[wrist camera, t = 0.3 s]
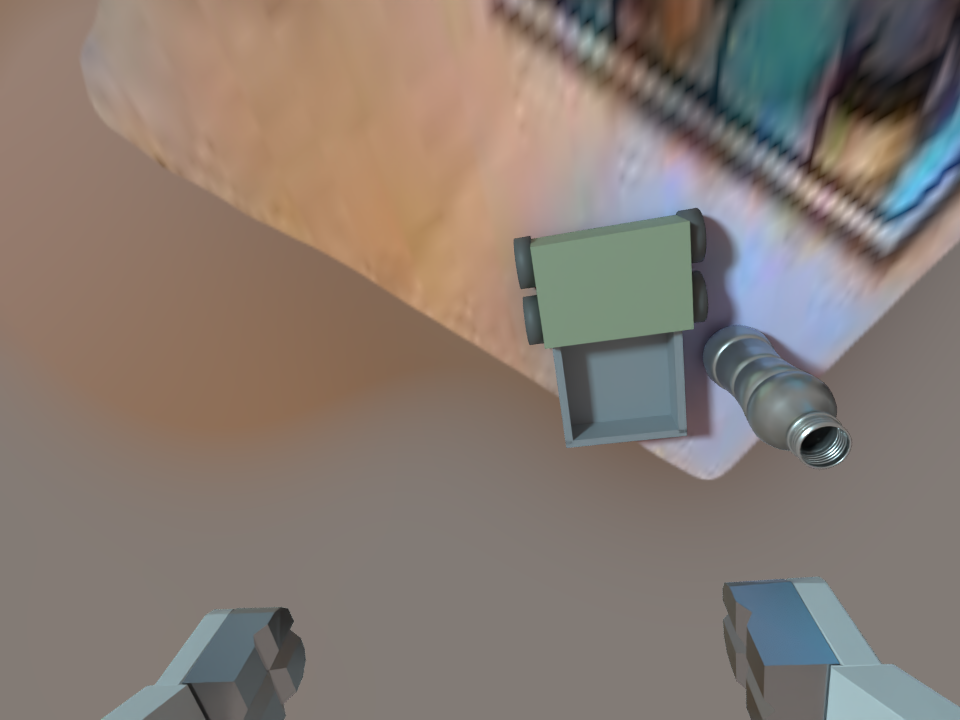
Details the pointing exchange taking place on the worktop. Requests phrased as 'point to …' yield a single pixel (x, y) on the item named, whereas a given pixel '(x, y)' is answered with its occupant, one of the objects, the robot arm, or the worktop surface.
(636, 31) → the worktop surface
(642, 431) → the toy pickup truck
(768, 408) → the silver metal bottle
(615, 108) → the worktop surface
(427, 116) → the worktop surface
